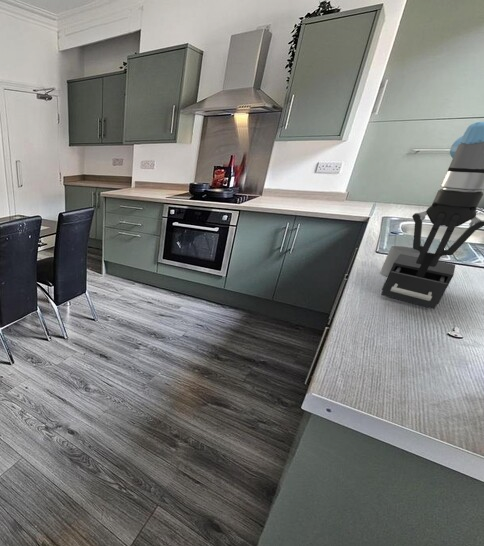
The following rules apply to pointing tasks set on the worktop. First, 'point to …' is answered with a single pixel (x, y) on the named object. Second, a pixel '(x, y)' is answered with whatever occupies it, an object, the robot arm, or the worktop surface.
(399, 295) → the dark pull-out drawer
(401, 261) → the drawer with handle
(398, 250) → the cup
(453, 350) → the worktop surface
